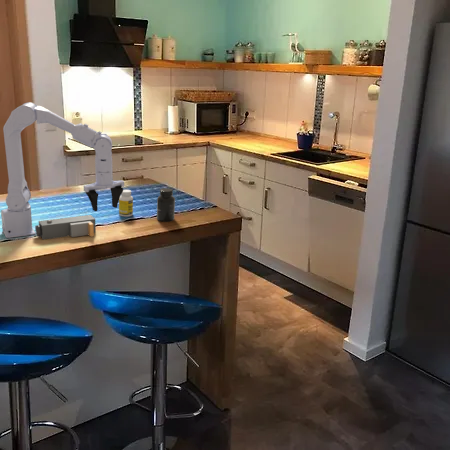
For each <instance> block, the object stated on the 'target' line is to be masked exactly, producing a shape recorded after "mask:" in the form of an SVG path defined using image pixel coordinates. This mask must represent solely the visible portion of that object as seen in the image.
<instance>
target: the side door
mask: <svg viewBox="0 0 450 450" xmlns="http://www.w3.org/2000/svg"><path fill="white" fill-rule="evenodd" d="M94 235H95V233H94V227H93V223H92V222H91V221H86V222H78V223H70V236H69V237H71V238H74V237H81V236H89V237H94Z"/></svg>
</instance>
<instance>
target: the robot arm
mask: <svg viewBox="0 0 450 450" xmlns="http://www.w3.org/2000/svg"><path fill="white" fill-rule="evenodd" d="M35 122H36V124H39V125H40V124H49V125H51V126H54V127H55V128H58V129H60V130H62V131H65V132H67V133H69V134H70V135H71V137H72V139H73V140H75V141H76V142H79V143H81V144H83V145H85V146H87V147H89V148H93V149H94V151H95V157H94V165H95V166H94V167H95V168H94V169H95V174H94V175H95V182H92V183H89V184H85V185H83V191H84V192H85V194H86V195H87V197H88V200H89V202H90V204H91V205H90V206H91V208H92V211H93V212H98V207H99V206H98V198H99V193H98V192H97V191H99V190H100V191H101V190H106V189H110V193H111V206H112V208H115V209H117V208H118V206H119V198H120V196H121V194H122V192H123V190H124V187H125V181H124V180H121V179H120V180H114V179H113V177H114V176H113V168H114V167H113V152H112V149H113V140H112V138H111V137H110V135H108V134H107V133H103V132H101V131H100V130H99V131H97V130H95V129H93V128H92V127H89V124H87V123H84V124H83V123H81V122H79V123H77V124H74V123H73V122H71V121H70V120H68V119H66V118H64V117H62V116H60V115H59V114H57V113H55V112H54V111H51V110H50V109H47V108H45V107H44V106H41V105H37V104H36V103H34V102H31V101H29V102H24V103H22V105H19V106H18V107H16V108H15V109H13V110H11V112H10V114H9V117H8V118H7V120H6V122H5V124H4V125H3V138H4V139H3V140H4V146H5V147H4V149H5V155H6V156H5V157H6V166H7V167H6V168H7V175H8V177H7V178H8V184H7V195H6V198H5V205H6V206H7V208H5V209H2V210H0V216H1V225H2V226H1V227H2V229H1V230H2V233H3V235H4V236H5V237H6V239H9V238H11V239H12V238H17V237H26V236H33V235H36V231H35V229H34V227H33V219H32V207H31V204H30V203H29V201H30V200H31V197H32V196H31V195H32V194H31V191H30V189H29V187H28V182H27V180H26V178H25V167H24V165H25V164H24V156H23V147H22V136H21V135H22V134H21V133H22V131H23V130H24V129H25V128H27V127H28V126H31V125H32V124H34V123H35Z"/></svg>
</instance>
